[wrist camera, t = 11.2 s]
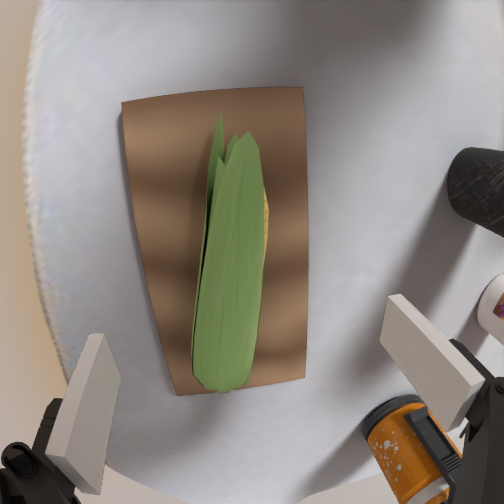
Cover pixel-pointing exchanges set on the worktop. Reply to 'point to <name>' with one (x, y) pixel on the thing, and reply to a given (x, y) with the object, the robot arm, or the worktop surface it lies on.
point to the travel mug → (478, 187)
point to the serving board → (194, 208)
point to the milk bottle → (493, 308)
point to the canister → (413, 452)
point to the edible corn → (230, 265)
